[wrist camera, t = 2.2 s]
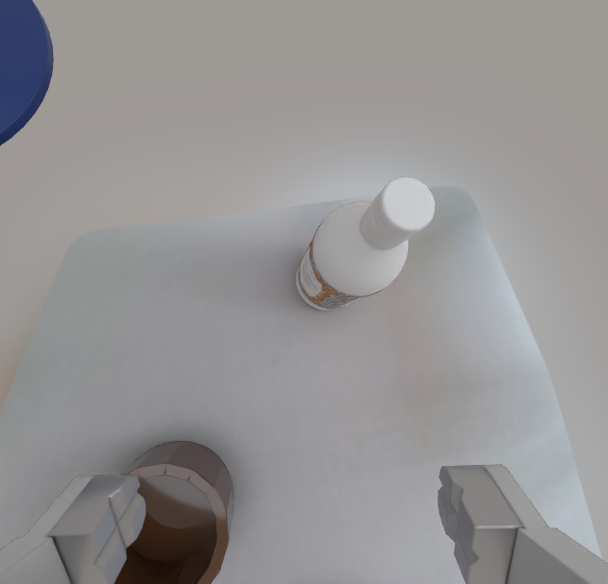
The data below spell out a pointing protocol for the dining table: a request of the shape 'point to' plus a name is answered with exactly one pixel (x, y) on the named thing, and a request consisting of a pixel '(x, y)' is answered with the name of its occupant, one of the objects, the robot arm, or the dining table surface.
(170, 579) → the cup
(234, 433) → the dining table surface
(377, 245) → the bath foam
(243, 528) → the dining table surface
